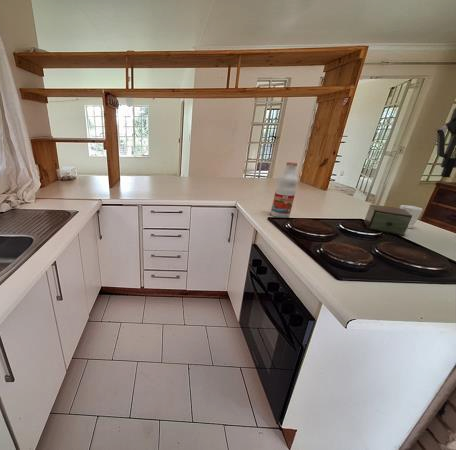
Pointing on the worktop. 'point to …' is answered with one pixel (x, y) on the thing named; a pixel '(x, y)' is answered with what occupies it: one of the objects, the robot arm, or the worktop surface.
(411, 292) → the worktop surface
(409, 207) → the white cup
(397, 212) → the cabinet
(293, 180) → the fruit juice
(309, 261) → the worktop surface
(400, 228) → the drawer
